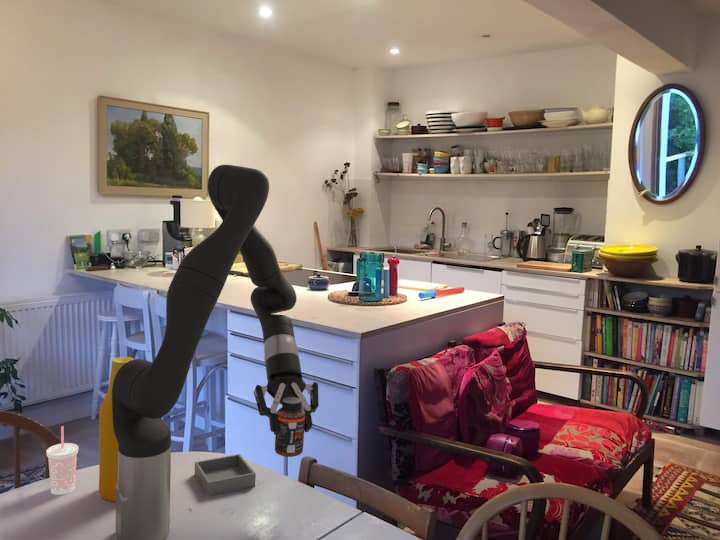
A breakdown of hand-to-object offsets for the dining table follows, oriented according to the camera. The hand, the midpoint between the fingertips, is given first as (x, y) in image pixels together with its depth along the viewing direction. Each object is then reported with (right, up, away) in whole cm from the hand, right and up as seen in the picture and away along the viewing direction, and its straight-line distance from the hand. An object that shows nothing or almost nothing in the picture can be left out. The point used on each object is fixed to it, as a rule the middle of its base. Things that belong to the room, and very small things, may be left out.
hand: (292, 431), depth 123 cm
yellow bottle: (-37, -14, +5) cm, 40 cm away
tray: (-17, -14, +12) cm, 25 cm away
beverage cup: (-49, -14, +4) cm, 51 cm away
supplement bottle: (-1, -5, +2) cm, 6 cm away
